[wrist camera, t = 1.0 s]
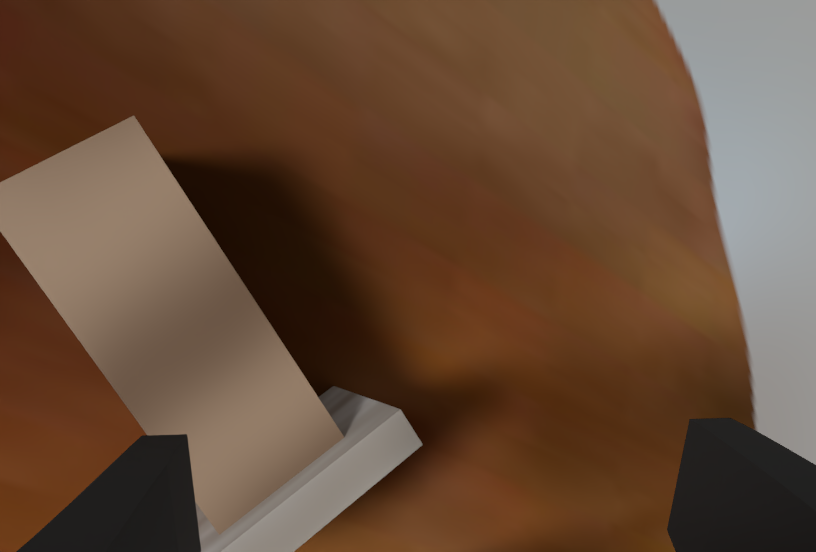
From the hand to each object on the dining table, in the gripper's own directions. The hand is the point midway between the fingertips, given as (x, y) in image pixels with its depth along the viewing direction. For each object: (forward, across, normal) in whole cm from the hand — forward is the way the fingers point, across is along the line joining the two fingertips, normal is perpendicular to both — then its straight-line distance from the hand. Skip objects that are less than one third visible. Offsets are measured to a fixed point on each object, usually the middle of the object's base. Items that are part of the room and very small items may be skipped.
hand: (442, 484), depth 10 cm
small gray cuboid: (+12, +7, +3) cm, 15 cm away
